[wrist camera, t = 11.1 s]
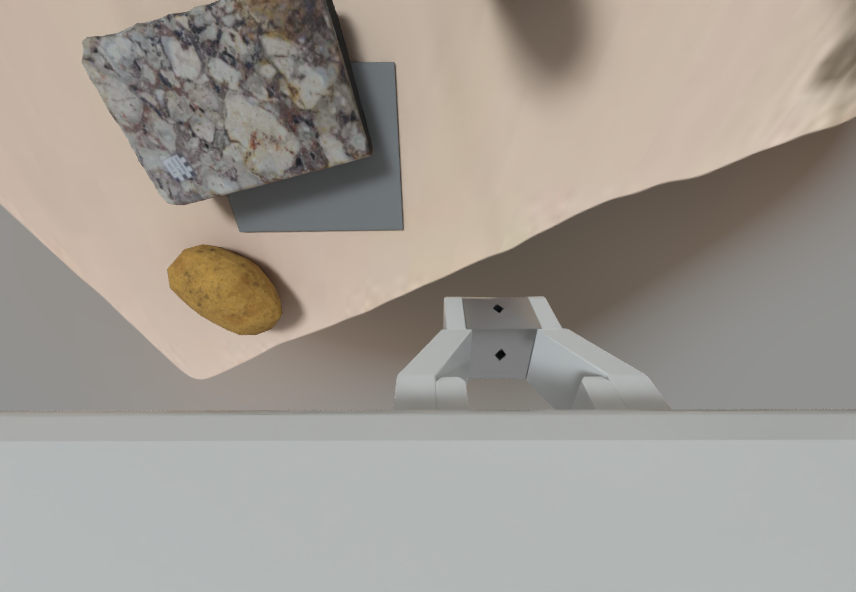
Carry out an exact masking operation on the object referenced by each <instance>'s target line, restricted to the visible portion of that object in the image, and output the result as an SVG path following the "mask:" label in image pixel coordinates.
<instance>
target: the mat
mask: <svg viewBox="0 0 856 592" xmlns="http://www.w3.org/2000/svg"><path fill="white" fill-rule="evenodd" d="M351 67H352V70H353V74H354V78H355V82H356V86H357V90H358V94H359V98H360V102H361V106H362V109H363V111H364V115H365V118H366V123H367V127H368V131H369V134H370V138H371V142H372V146H373V148H374V153H373V155H372V156H370V157H365V158H362V159H359V160H355V161H352V162H348V163H344V164H340V165H336V166H333V167H330V168H326V169H322V170H318V171H313V172H310V173H306V174H303V175H298V176H294V177H291V178H287V179H283V180H279V181H275V182H271V183H268V184H264V185H261V186H257V187H253V188H250V189H246V190H242V191H237V192H233V193H230V194H227V195H228V198H229V201H230V204H231V207H232V210H233V213H234V216H235V219H236V222H237V225H238V228H239V231H240V232H264V231H339V230H403V219H402V199H401V180H400V161H399V141H398V122H397V102H396V83H395V63H394V62H354V63H351Z"/></svg>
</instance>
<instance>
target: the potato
mask: <svg viewBox="0 0 856 592" xmlns="http://www.w3.org/2000/svg"><path fill="white" fill-rule="evenodd" d="M167 271H168V278H169V285H170V288H171V289H172V290H173V291H174V292H175V293H176V294H177V295H178V297H179V298H180V299H182V300H183V301H184V302H185V303H186V304H187V305H188V306H189V307H190V308H192V309H193V310H194V311H196V312H197V313H198V314H200V315H201V316H202V317H204V318H206V319H208V320H209V321H211V322H213V323H215V324H217V325H219V326H221V327H223V328H225V329H226V330H229V331H231V332H234V333H236V334H238V335H257V334H260V333H262V332H265V331H267V330H270V329H272V328H273V326H274V325H275V324H276V322H277V321H278V320H279V319H280V317H281V315H282V307H281V301H280V298H279V295H278V293H277V291H276V289H275V287H274V285H273V284H272V283H271V282H270V280H269V279H268V278H267V276H266V275H265V274H264V273H263V271H262V270H261V269H260V268H259V267H258V266H257V265H256V264H254V263H253V262H251V261H250V260H248V259H247V258H245V257H242V256H240V255H237V254H235V253H233V252H230V251H228V250H226V249H224V248H222V247H216V246H211V245H199V246H195V247H191V248H188V249H184V250H183V252H182V253H181V254H180V255H179V256H178V257H177V259H176V260H175V261H174V262H173V263H172V264H171V265H170V267H169V268H168V269H167Z"/></svg>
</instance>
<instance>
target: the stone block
mask: <svg viewBox="0 0 856 592" xmlns="http://www.w3.org/2000/svg"><path fill="white" fill-rule="evenodd" d="M82 43H83V59H82V64H83V66H84V68H85V69H86V71H87V73H88V75H89V77H90V79H91V81H92V82H93V84H94V85H95V87H96V88H97V90H98V92H99V94H100V96H101V97H102V99H103V101H104V103H105V105H106V107H107V108H108V110H109V112H110V113H111V115H112V116H113V118H114V119H115V121H116V122H117V123H118V124H119V126H120V127H121V129H122V131H123V132H124V134H125V135H126V137H127V139H128V141H129V143H130V145H131V147H132V149H133V150H134V152H135V154H136V155H137V157H138V161H139V162H140V163H141V165H142V166H143V167H144V169H145V170H146V172H147V174H148V176H149V178H150V179H151V181H152V182H153V183H154V185H155V187H156V189H157V191H158V193H159V194H160V195H161V196H162V197H163V198H164V199H165V201H166V202H167V203H169V204H174V205H186V204H190V203H194V202H198V201H203V200H206V199H209V198H213V197H217V196H222V195H227V194H230V193H233V192H237V191H242V190H246V189H250V188H253V187H257V186H261V185H264V184H268V183H271V182H275V181H279V180H283V179H287V178H291V177H294V176H298V175H303V174H306V173H310V172H313V171H318V170H322V169H326V168H330V167H333V166H336V165H340V164H344V163H348V162H352V161H355V160H359V159H362V158H365V157H370V156H372V155H373V153H374V148H373V146H372V142H371V138H370V134H369V131H368V127H367V123H366V118H365V115H364V111H363V109H362V106H361V102H360V98H359V94H358V90H357V86H356V82H355V78H354V74H353V70H352V67H351V63H350V59H349V55H348V52H347V48H346V44H345V41H344V37H343V33H342V30H341V26H340V23H339V19H338V16H337V13H336V11H335V6H333V1H332V0H219V1H216V2H214V3H211V4H209V5H202V6H198V7H194V8H193V9H191V10H190V11H187V12H183V13H176V14H168V15H167V16H165V17H163V18H160V19H157V20H154V21H151V22H147V23H137V24H135V25H134V26H131V27H129V28H127V29H125V30H123V31H121V32H119V33H116V34H110V35H105V36H93V37H87V38H86V39H84V40H83V42H82Z"/></svg>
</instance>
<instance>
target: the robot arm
mask: <svg viewBox="0 0 856 592" xmlns="http://www.w3.org/2000/svg"><path fill="white" fill-rule="evenodd" d="M443 324H444V325H443V330H441V331H440V332H439V333H438V334H437V335H436V336H435V337H434V338H433V339H432V340H431V341H430V343H428V345H426V346H425V348H424V349H423V350H422V351H421V352H420V353H419V354H418V355H417V356H416V357H415V358H414V359H413V360H412V361H411V362H410V363H409V364H408V365H407V366H406V367H405V368H404V369H403V370H402V371H401V373H399V375H398V376H397V383H396V391H395V399H394V409H393V410H291V411H290V410H283V411H282V410H274V411H270V410H265V411H263V410H258V411H256V410H255V411H254V410H252V411H13V410H12V411H10V410H9V411H8V410H1V411H0V592H856V409H730V410H729V409H711V410H710V409H705V410H703V409H696V410H695V409H693V410H692V409H690V410H689V409H686V410H683V409H682V410H681V409H680V410H675V409H674V410H673V409H671V408H670V406H669V405H668V404H667V402H666V401H665V400H664V398H663V397H662V395H661V394H660V393H659V391H658V390H657V389H656V387H655V386H654V385H653V384H652V382H651V381H650V379H649V378H648V377H647V375H645V374H643V373H642V372H640V371H638V370H636V369H635V368H633V367H631V366H629V365H628V364H626V363H625V362H623V361H621V360H619V359H618V358H616V357H614V356H613V355H611V354H609V353H608V352H606V351H604V350H602V349H601V348H599V347H597V346H596V345H594V344H592V343H591V342H588V341H587V340H585V339H584V338H582V337H580V336H579V335H577V334H575V333H574V332H572V331H570V330H568V329H562V327H561V325H560V324H559V322H558V320H557V318H556V316H555V315H554V313H553V311H552V309H551V307H550V305H549V304H548V302H547V300H546V298H545V297H543V296H539V297H538V296H537V297H514V298H492V297H491V298H490V297H445V299H444V323H443ZM483 378H512V379H526V380H527V381H528V382H529V383H530V384H531V385H532V386H533V387H534V388H535V389H536V391H538V393H539V394H541V395H542V396H543V397H544V399H546V401H547V402H548V403H549V404H550V405H551V406H552V407H553V408H555V410H469V408H468V400H467V393H466V383H467V382H468V379H483Z"/></svg>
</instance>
